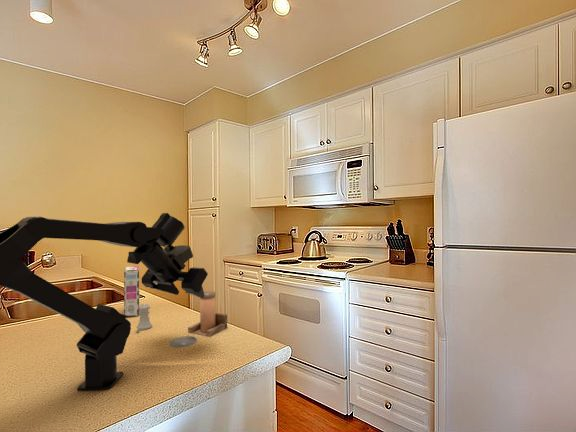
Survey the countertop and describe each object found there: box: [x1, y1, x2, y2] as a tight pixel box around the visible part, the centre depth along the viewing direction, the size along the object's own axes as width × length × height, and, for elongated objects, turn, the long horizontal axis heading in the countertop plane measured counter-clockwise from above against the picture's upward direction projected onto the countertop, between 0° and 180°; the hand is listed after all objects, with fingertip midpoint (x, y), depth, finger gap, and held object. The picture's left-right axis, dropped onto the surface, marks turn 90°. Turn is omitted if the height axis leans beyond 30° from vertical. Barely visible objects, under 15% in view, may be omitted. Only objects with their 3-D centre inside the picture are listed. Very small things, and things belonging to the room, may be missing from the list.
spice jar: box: [199, 290, 216, 333], centre depth 96 cm, size 5×5×11 cm
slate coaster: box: [169, 335, 198, 348], centre depth 87 cm, size 7×7×1 cm
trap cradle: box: [187, 312, 228, 338], centre depth 96 cm, size 8×8×5 cm
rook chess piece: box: [136, 303, 153, 334], centre depth 99 cm, size 4×4×8 cm
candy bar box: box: [123, 266, 140, 318], centre depth 118 cm, size 11×5×16 cm, turn 25°
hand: (190, 295), depth 89 cm, fingers open, 9 cm apart
